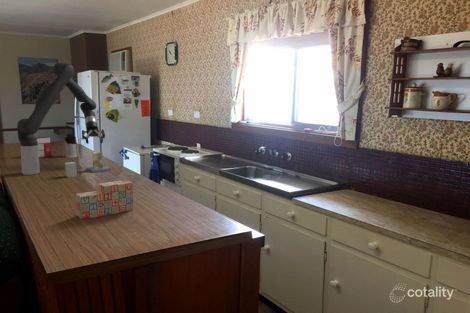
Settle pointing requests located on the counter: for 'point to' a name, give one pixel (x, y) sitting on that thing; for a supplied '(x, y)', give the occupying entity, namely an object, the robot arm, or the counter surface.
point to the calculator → (44, 146)
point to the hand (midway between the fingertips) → (94, 143)
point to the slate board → (98, 169)
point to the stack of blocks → (105, 200)
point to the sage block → (70, 169)
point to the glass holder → (71, 147)
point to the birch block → (97, 160)
